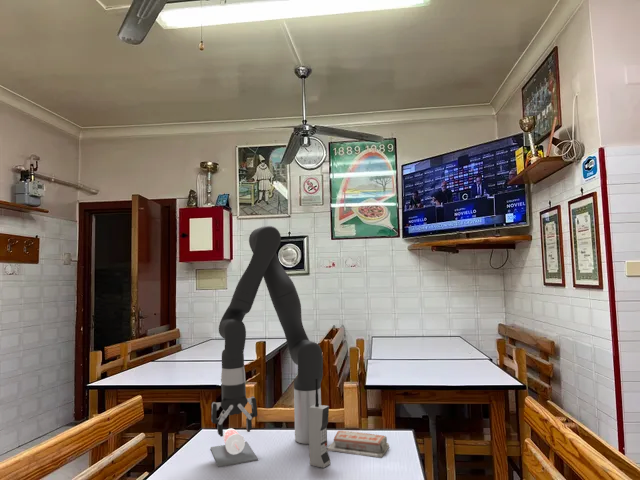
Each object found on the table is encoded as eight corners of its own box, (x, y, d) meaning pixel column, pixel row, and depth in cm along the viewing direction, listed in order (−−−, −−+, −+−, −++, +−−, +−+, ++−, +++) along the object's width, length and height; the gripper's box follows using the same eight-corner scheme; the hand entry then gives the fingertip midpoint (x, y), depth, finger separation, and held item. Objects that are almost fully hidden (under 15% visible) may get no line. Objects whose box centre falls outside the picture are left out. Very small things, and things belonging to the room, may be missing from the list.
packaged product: (389, 432, 146) (381, 443, 137) (389, 447, 146) (381, 459, 137) (337, 426, 153) (326, 436, 144) (337, 441, 153) (326, 452, 144)
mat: (246, 442, 152) (246, 441, 152) (258, 460, 138) (258, 458, 138) (210, 448, 148) (210, 447, 148) (218, 467, 133) (218, 465, 133)
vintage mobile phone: (324, 468, 130) (321, 380, 132) (309, 465, 133) (307, 378, 135) (330, 463, 133) (328, 377, 136) (316, 460, 136) (314, 376, 138)
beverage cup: (219, 444, 148) (226, 460, 135) (222, 425, 149) (230, 438, 136) (237, 445, 150) (246, 460, 138) (240, 426, 151) (250, 439, 138)
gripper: (212, 386, 138) (214, 441, 137) (258, 380, 143) (259, 433, 142) (209, 381, 145) (210, 433, 144) (252, 376, 150) (254, 426, 149)
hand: (235, 433), depth 143 cm, fingers open, 8 cm apart
